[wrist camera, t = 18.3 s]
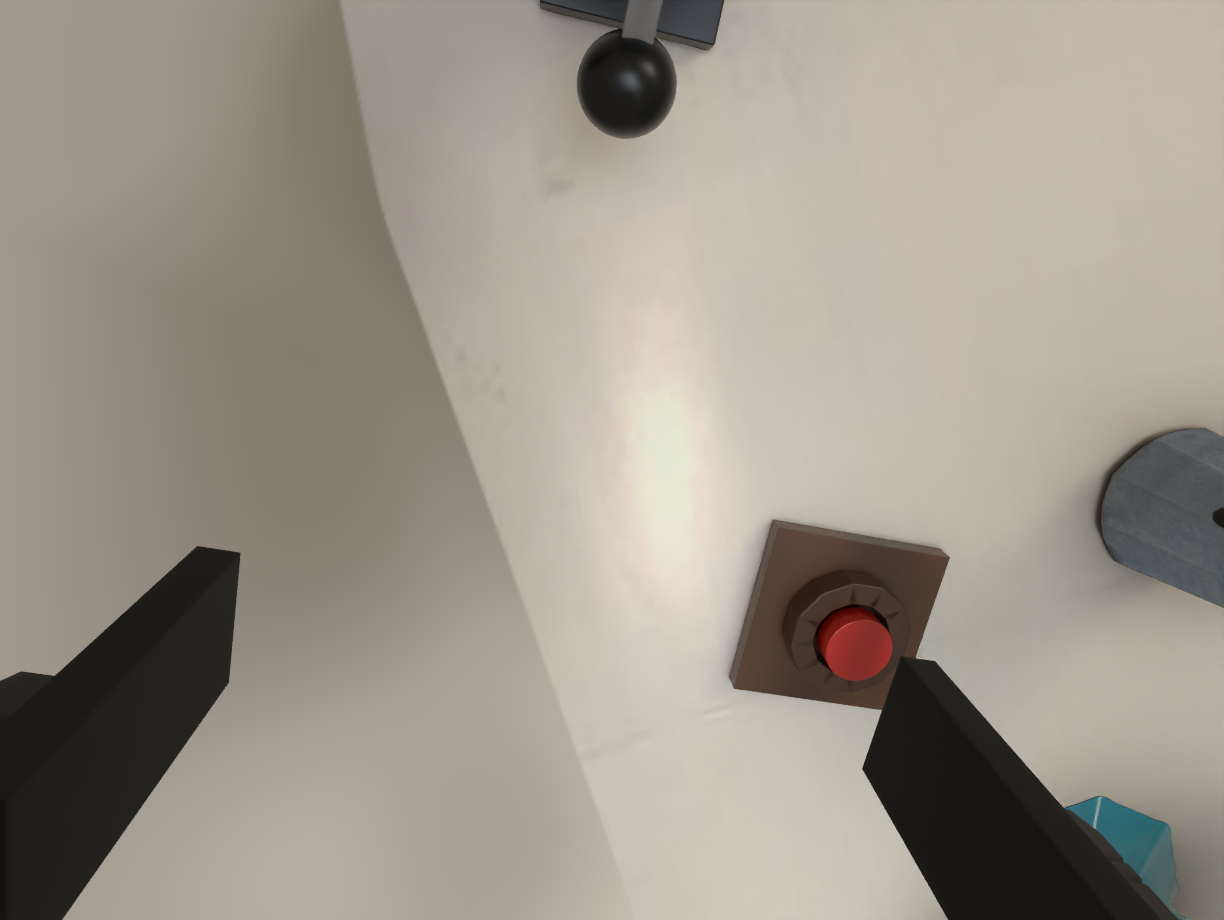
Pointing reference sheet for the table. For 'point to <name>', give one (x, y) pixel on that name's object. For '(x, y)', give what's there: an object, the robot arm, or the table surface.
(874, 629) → the button
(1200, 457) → the moka pot
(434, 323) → the table surface
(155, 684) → the robot arm
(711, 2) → the switch bracket
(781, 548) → the control block
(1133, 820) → the vase
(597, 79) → the switch lever
